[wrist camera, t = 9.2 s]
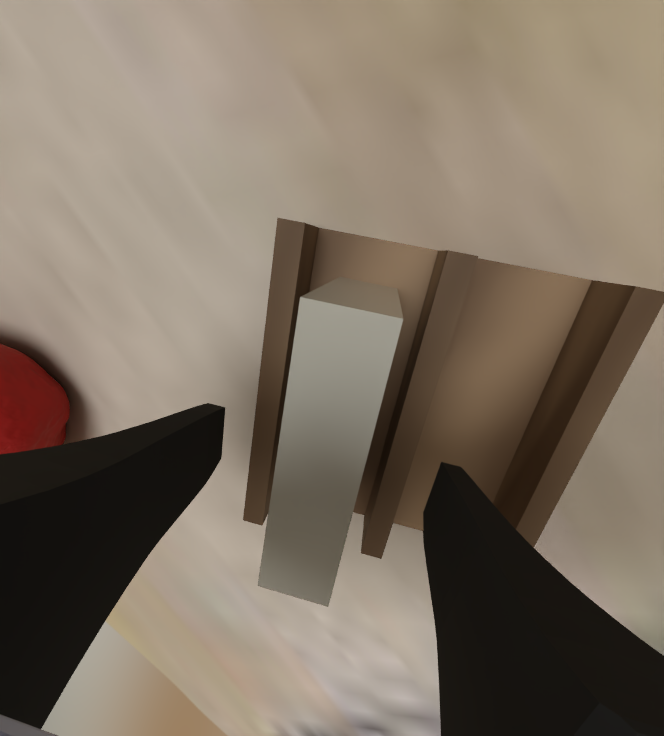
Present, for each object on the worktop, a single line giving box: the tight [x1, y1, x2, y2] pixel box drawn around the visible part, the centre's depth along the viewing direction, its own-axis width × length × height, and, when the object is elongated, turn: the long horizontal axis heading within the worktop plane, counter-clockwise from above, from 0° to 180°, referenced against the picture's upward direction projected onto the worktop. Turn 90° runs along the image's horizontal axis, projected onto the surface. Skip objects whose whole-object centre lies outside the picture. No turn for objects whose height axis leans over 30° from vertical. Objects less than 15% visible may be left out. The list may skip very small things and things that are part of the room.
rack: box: [243, 218, 664, 559], centre depth 15 cm, size 13×14×4 cm
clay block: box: [258, 277, 403, 607], centre depth 13 cm, size 2×10×7 cm, turn 170°
